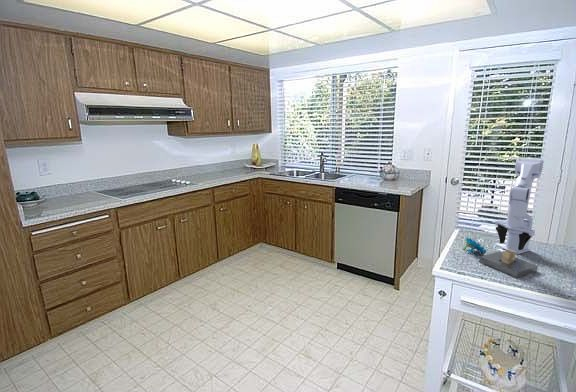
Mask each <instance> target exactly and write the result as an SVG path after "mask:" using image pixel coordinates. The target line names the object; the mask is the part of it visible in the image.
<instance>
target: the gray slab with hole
mask: <svg viewBox="0 0 576 392" xmlns="http://www.w3.org/2000/svg"><path fill="white" fill-rule="evenodd" d="M502 254H503V251H495V252H491V253H489V254H485V255H481V256H480V255H479V260H478V262H479V263H481V264H484V265H486V266H488V267H491V268H492V269H495V270H497V271H500V272H503V273H505V274H507V275H508V276H512V277H514V278H516V279H517V278H518V279H519V278H521V277H524V276H526V275H529V274H533V273H536V272H537V271H538V268H539V265H536V264H533V263H532V262H528V261H526V260H523V259H521V258H517V257H516V256H515V259H514V263H512V264H506V263H504V262H501V260H502Z"/></svg>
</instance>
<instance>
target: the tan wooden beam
mask: <svg viewBox="0 0 576 392" xmlns="http://www.w3.org/2000/svg"><path fill="white" fill-rule="evenodd" d="M502 253H503V254H502V260H501V262H504V263H506V264H512V263H514V259H515V257H516V252H515V251H512V250H503V251H502Z"/></svg>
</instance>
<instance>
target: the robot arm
mask: <svg viewBox="0 0 576 392" xmlns="http://www.w3.org/2000/svg"><path fill="white" fill-rule="evenodd" d="M544 162H545V161H544V159H543V158H541V159H537V158H522V157H521V158H520V157H518V158H517V159H516V161H515V165H514V172H515V176H516V177H517V178H515V180H514V184H513V186H512V187H511V188H510V190H509V196H508V197H509V198H508V199H509V202H508V204H509V206H508V212H507V218H506V219H505V221H504V220H495V223H494V225H495V230H496V232H497V235H498V239H499V244H504V243H505V242H506V243H505V246H504V245H503V246H501V249H503V250H504V251H506V250H512V251H515V252H516V253H515V255H516V254H517V255H519V254H523V253H526V252H529V251H531V249H529V246H530V242H531V238H532V237H533V236H535V235H536V234H535V233H536V230H534V229H532V227H533V220H534V218H533V217H532V216H531V215H530V214H529V213H528V209H529V203H530V196H531V191H532V186H533V182H534V181H535V180H536V179H538V178H541V175H542V172H543V168H544Z"/></svg>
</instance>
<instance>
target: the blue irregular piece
mask: <svg viewBox="0 0 576 392" xmlns="http://www.w3.org/2000/svg"><path fill="white" fill-rule="evenodd" d="M467 248H470V249H469V251H468V252H467V254H471V253H472V252H473V251H474V250H476V251H478V252H480V253H482V254H485V255H486V254H487V250H486V249H485V247H483V246H481V244H480V243H479V242H476V240H474V239H472V238H470V237H466V238H465V246H464V247H463V248H462V249H463V250H466V249H467Z"/></svg>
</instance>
